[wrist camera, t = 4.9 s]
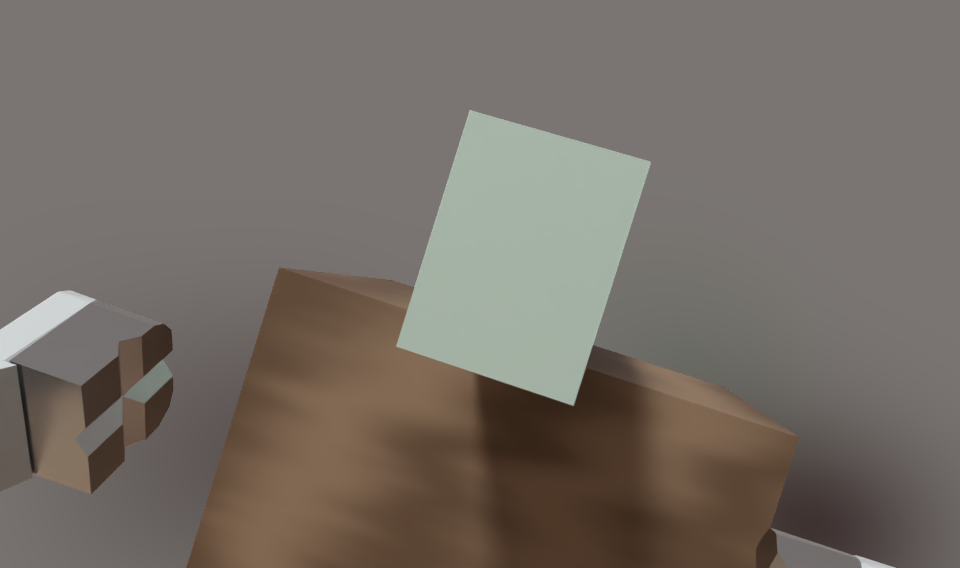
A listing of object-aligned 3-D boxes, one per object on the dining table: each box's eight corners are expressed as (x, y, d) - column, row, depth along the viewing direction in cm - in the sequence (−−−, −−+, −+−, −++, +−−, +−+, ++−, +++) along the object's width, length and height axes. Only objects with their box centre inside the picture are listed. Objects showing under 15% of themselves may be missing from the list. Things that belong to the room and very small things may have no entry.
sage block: (588, 342, 34) (617, 249, 33) (573, 405, 13) (651, 162, 13) (519, 320, 34) (548, 228, 34) (396, 346, 13) (469, 109, 13)
